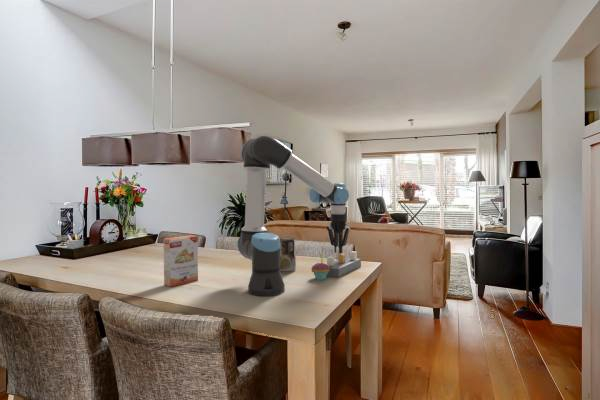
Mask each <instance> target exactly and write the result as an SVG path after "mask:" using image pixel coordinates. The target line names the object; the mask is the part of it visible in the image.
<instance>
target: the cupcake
mask: <svg viewBox="0 0 600 400" xmlns="http://www.w3.org/2000/svg"><path fill="white" fill-rule="evenodd" d="M323 253H324V252H322V254H321V261H320V263H319V262H318V263H315V264H314V265H312V267H311V273H313V275H314V278H315V279H316V280H318V281H320V280H321V281H322V280H326V278H327V273H328V272H329V270H330V269H329V268H330V267H329V266H328V265H327V263H323V262H324V254H323Z"/></svg>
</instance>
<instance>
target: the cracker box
mask: <svg viewBox="0 0 600 400" xmlns="http://www.w3.org/2000/svg"><path fill="white" fill-rule="evenodd" d="M198 240H199V239H198V236H197V235H192V234H191V235H183V236H173V237H172V236H171V237H165V238H163V283H164V285H165V286H167V287H170V288H172V287H175V286H179V285H184V284H189V283H193V282H197V281H199V261H198V260H199V256H198V255H199V254H198V253H199V244H198V243H199V242H198Z"/></svg>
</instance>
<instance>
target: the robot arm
mask: <svg viewBox="0 0 600 400" xmlns="http://www.w3.org/2000/svg"><path fill="white" fill-rule="evenodd" d="M240 156H241V159H242V161H243V169H244V170H245V171H246V186H245V187H246V189H245V191H246V192H245V211H244V212H245V214H244V226H243V227H242V228H241V229H240V236H238V239H237V245H236V247H237V250H238V252H239V254H240V255H241V256H243V257H244V258H246V259H247V260H250V261H251V269H252V270H251V276H250V279H249V283H248V285H247V292H248V293H249V294H250V295H253V296H259V297H270V296H271V297H272V296H277V295H281V294H282V293H284V292H285V289H286V288H285V287H286V286H285V283H284V280H283V276H282V273H281V271H280V239H279V238H280V236H279V235H278V234H275V233H272V232H271V233H270V232H268V229H267V228H266V226H265V212H266V209H265V207H266V187H267V173H268V172H269V171H270V170H271V166H273V167H275V168H277V169H279V170H280V169H283V170H284V171H286V172H287V173H289V174H290V175H291V176H293V177H294V178H296V179H297V180H299V181H300V182H302V183H303V184H305V185H306V186H308V187H309V188H311V189H310V190H309V195H308V196H309V200H310V202H312V203H315V204H318V203H320V204H321V203H322V204H325V203H326V204H330V213H331V214H330V221H331V222H330V223H329V224H330V225H328V226H326V231H328V236H329V242H330V245H331V246H334V253H335V261H337V260H338V255H339V254H343V247H344V246H346V245H347V243H348V242H347V241H348V238H349V232H350V231H351V227H349V226H347V223H346V221H347V219H346V218H347V217H346V216H347V215H346V212H347V211H346V210H347V209H346V208H347V207H346V205H347V202H348V200H349V197H350V193H349V190H348V189H347V186H346V184H345V183H344V182H342V183H341V182H340V183H337V182H336V183H333V182H332V181H331V180H330V179H328V178H327V177H326V176H324V175H322V174H321V173H320V172H318V171H317V170H316V169H314V168H313V167H311V166H310V165H308V164H307V163H306V162H305V161H303V159H300V158H299V157H297V156H296V155H295V154H293V150H292V149H291V148H290V147H288V146H286V145H285V144H284V143H282V142H281V141H280V140H278V139H276V138H274V137H271V136H268V135H260V136H258V137H255V138H250V139H249V140H247V141H246V142H245V143H244V144H243V145H242V147H241V149H240Z"/></svg>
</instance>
